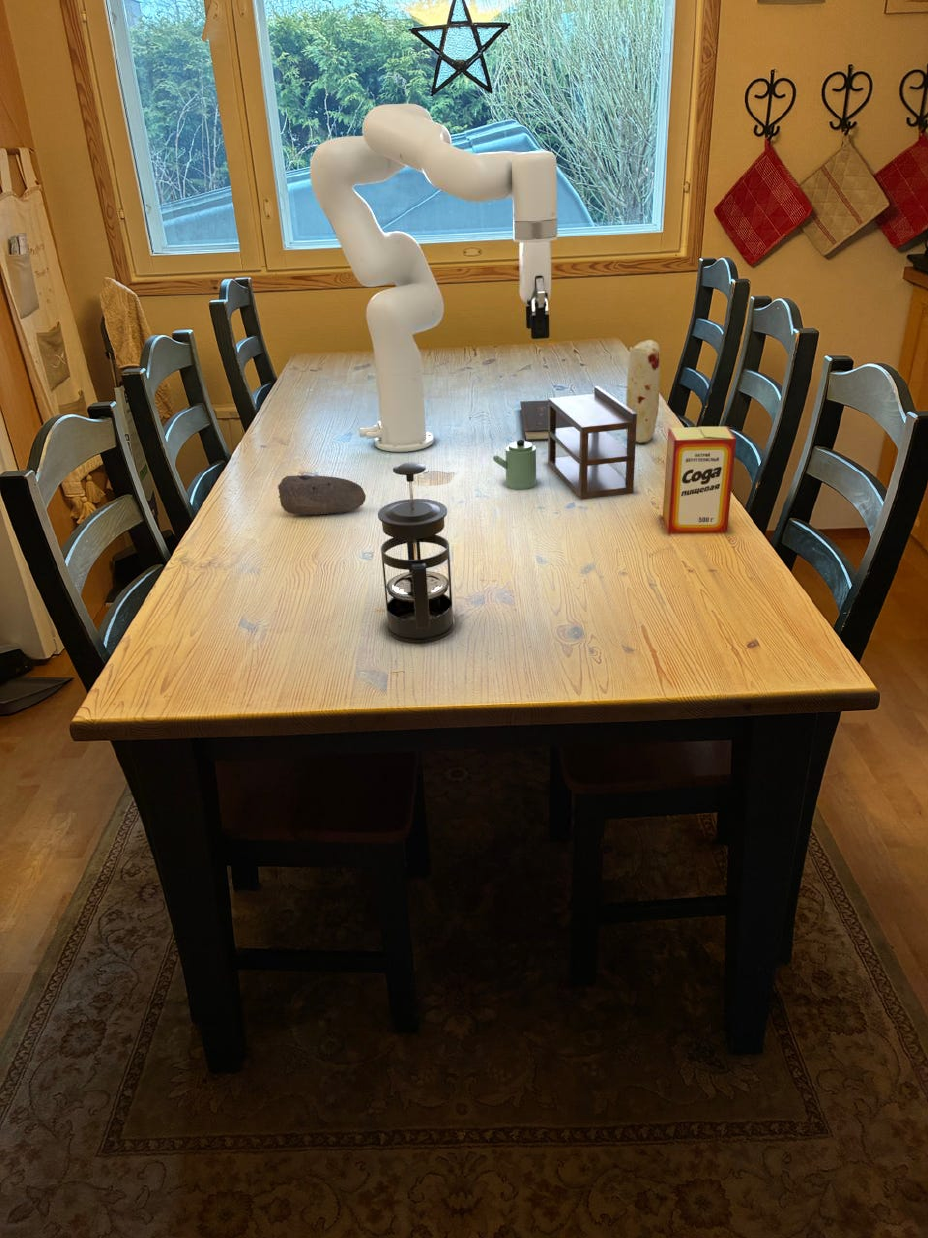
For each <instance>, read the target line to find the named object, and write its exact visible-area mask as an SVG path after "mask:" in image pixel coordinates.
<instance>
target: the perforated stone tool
mask: <svg viewBox="0 0 928 1238" xmlns="http://www.w3.org/2000/svg"><path fill="white" fill-rule="evenodd" d="M277 489H278V494H279V496H278V498H279V502H280V506H281V507H282V509H283V511H285V512H287V513H288V514H293V515H303V516H312V515H331V514H341V513H342V514H343V513H347V512H352V511H355V510H357V509H359V508H360V507H362V506H363V505H364V503H365V502H366V497H367V495H366V493H365V491H364V488H363V487H362V486H361V485H360V484H359V483H356V482H354V481H352V480H349V479H345V478H342V477H336V476H328V475H317V474H316V475H308V474H303V475H302V474H301V475H300V474H297V475H286V476H285V477H283V478H282V479H281V481H280V483H279V484H278V485H277Z"/></svg>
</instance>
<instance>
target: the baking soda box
mask: <svg viewBox="0 0 928 1238" xmlns="http://www.w3.org/2000/svg"><path fill="white" fill-rule="evenodd" d="M736 446H737V437H736V435H734V432H733V431H732V430H731V429H730V427H729V426H695V427H693V426H691V427H688V426H687V427H668V428H667V447H666V459H665V460H666V461H665V462H666V463H665V475H664V476H665V477H664V491H663V505H662V506H663V508H662V520H663V523H664V526H665V529H666V531H667V534H699V533H700V534H702V533H703V534H704V533H705V534H706V533H707V534H708V533H728V528H729V518H730V506H731V497H732V486H733V477H734V466H735V458H736V457H735V456H736Z"/></svg>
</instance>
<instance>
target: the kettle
mask: <svg viewBox="0 0 928 1238" xmlns="http://www.w3.org/2000/svg"><path fill="white" fill-rule="evenodd" d="M492 460H493V461H494V462H495V463H496V464H497V465H499V466H501V468H503V469H505V485H506V487H508V488H510V489H513V490H527V489H532V488H534V487H536V485H537V447H536V445H534V444H533V443H532V442H531V441H525V440H524V439H521V438H520V439H518V440H517V441H512V442H511V443H509V444H508V445H507V446H506V447H505V459H503V458H502V457H501V456H499V455H497V454H496V455H494V456H493V457H492Z"/></svg>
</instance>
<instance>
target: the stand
mask: <svg viewBox="0 0 928 1238" xmlns="http://www.w3.org/2000/svg"><path fill="white" fill-rule="evenodd" d="M593 389H594V390H593V393H587V394H576V395H566V396H557V397H549V398H547V400H548V404H549V405H548V441H547V461H548V462H547V465H548V466H549V467H550V468H551V469H552V470H553V471H554V473H556V474H557V476H558V477H559V478H560V479H561V480H562V481H563V482H564V483H565V484H566V485H567V486H568V487H569V488H570V490H571V491H572V492H573V493H574V494H575V495H576V496H577V497H578V498H579V499H580V500H585V499H595V498H602V497H610V496H611V497H612V496H619V495H627V494H634V488H635V487H634V485H635V469H636V468H635V467H636V465H635V464H636V463H635V462H636V446H637V445H636V443H637V442H636V426H637V422H636V421H637V413H635V412H634V411H633V410H631V409H630V408H628V407H627V406H626V404H624V403H623V402H622V401H620V400H619V399H617V398H616V397H615V396H613V395H612V394H610V393H609V392H607V391H606V390H605V389H604V388H602V387H601V386H599V385H594V388H593ZM556 411H557V412H558V413H559V414H560V415H561V416H562V417H563V418H565V419H566V420H567V421H568V422H569V423H570V424H571V425H573V426H574V427H566V428H557V429H556ZM626 429H628V434H627V435H626V446H624V445H623V444H622V443H621V442H619V441H618V440H617V439H616V438H615V437H614V436H612V435H611V433H609V432H612V431H621V430H626ZM557 445H558V446H559V447H560V448H562V449H563V450H564V451H565V452H566V454H568V455H569V456H568V455H567V456H558V457H557V455H556V454H557ZM617 463H625V477H624V476H622V475H621V474H620V473H619V472H618V471H617V470H616V469H615V468H614V467H613V466H611V465H610V464H617Z"/></svg>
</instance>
